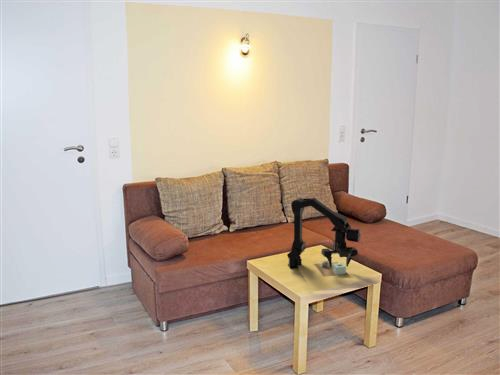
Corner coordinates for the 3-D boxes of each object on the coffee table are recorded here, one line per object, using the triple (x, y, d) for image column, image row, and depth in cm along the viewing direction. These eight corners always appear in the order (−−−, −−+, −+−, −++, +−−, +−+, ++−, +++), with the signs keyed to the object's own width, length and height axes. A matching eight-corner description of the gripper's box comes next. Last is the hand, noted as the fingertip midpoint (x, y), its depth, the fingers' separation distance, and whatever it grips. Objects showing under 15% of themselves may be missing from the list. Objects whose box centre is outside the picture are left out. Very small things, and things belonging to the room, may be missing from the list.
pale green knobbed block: (335, 274, 239) (336, 266, 239) (332, 270, 245) (332, 262, 244) (345, 273, 240) (346, 266, 239) (342, 269, 246) (342, 262, 245)
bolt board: (323, 278, 238) (323, 271, 237) (313, 265, 255) (313, 259, 254) (348, 276, 240) (348, 269, 239) (337, 264, 257) (337, 257, 256)
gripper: (328, 245, 230) (327, 273, 233) (362, 243, 232) (361, 271, 236) (321, 238, 240) (320, 265, 244) (354, 236, 243) (353, 263, 246)
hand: (338, 266), depth 242 cm, fingers open, 9 cm apart
